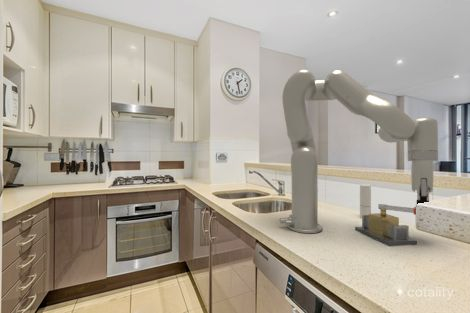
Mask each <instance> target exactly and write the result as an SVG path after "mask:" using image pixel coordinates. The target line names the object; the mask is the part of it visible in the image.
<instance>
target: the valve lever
mask: <svg viewBox="0 0 470 313" xmlns="http://www.w3.org/2000/svg"><path fill="white" fill-rule="evenodd" d="M416 207H417V206H414V207H406V206H399V205H398V206H397V205H388V204H384V203H378V209H379V210H386V211H394V212H402V213H410V214H413V215H416Z"/></svg>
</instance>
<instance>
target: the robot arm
mask: <svg viewBox="0 0 470 313" xmlns="http://www.w3.org/2000/svg"><path fill="white" fill-rule="evenodd" d="M333 100H337V101H338V102H339V103H340V104H341V105H343V106H344V108H346V109H347V110H348V111H350V113H353V114H354V115H358V116H361V117H364V118H367V119H369V120H370V121H371V122H373V123H375V124H376V125H378V127H379V128H378V132H377V133H378V137H379V139H381V140H382V141H383V142H386V143H391V144H392V143H397V142H407V161H408V162H411V169H410V170H411V181H410V182H411V191H413V192H415V191H416V193H417V196H416V197H417V198H416V205H417V204H418V203H424V202H429V201H430V193H432V192H434V191H433V189H434V188H433V187H434V162H439V138H438V137H439V136H438V135H439V134H438V133H439V132H438V130H439V127H438V124H439V123H438V121H437V119H436V118H434V117H421V118H420V117H419V118H415V119H412V118H411V117H410V115H408V114H407V113H406V112H404V111H403V110H402V109H401V108H399V107H398V106H397V105H395V104H394V103H392V102H390V101H388V100H386V99H384V98H382V97H380V96H378V95H375V94H374V93H371V92H370V91H369V90H368V89H367V88H365V87H364V86H362V84H360V83H359V82H358V81H357V80H356V79H354V78H353V77H352V76H351V75H349V74H348V73H347V72H345V71H343V70H341V69H335V70H333V71H330V73H328V75H327V76H326V77H325V79H320V80H319V79H318V80H316V77H315V75H314V74H313V73H312V72H311V70H308V69H300V70H297V71H296V72H294V73H293V74H292V75H291V76H289V78H288V79H287V81H286V83H285V85H284V88H283V90H282V106H283V107H282V108H283V115H284V120H285V121H284V122H285V125H286V126H285V127H286V133H287V137H288V139H289V141H290V146H291V151H292V154H291V157H290V158H291V159H290V167H291V168H290V171H291V214H289V215H288V217H280V218H279V223H280V224H285V225H287V228H288V229H289V230H291V231H293V232H297V233H302V234H317V233H320V232H322V231H323V226H322V225H321V224H319V220H318V216H319V215H318V214H319V212H318V211H319V210H318V203H319V202H318V201H319V200H318V196H319V194H318V193H319V191H318V190H319V189H318V172H319V170H318V165H319V158H318V154H317V150H316V146H315V141H314V135H313V130H312V126H311V125H310V121H309V118H308V117H309V116H308V112H307V105H306V102H307V101H309V102H310V101H333Z"/></svg>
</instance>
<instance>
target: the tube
mask: <svg viewBox="0 0 470 313" xmlns="http://www.w3.org/2000/svg"><path fill="white" fill-rule="evenodd" d="M371 188H372V184H362V183H361V184H359V218H360V219H362V215H369V214H372V189H371Z"/></svg>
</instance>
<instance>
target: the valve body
mask: <svg viewBox="0 0 470 313" xmlns="http://www.w3.org/2000/svg"><path fill="white" fill-rule="evenodd" d="M379 210H380V212H378V213H371V214H369V215H362V218H361V223H362V225H361V226H354V230H355V231H356V232H358V233H361V234H362V235H365V236H367V237H369V238H372V239H374V240H375V241H377V242H379V243H381V244H384V245H386V246H388V247H394V246H398V247H399V246H414V245H418V240H417V239H414V238H412V237H409V236H410V229H409V227H410V226H409V225H406V224H402V225H401V224H400V218H399V217H398V216H396V215H391V214H388V213H387V210H381V209H379Z"/></svg>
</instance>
